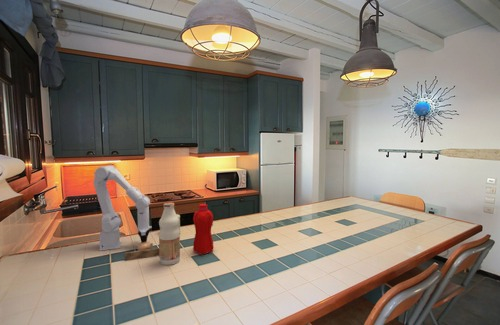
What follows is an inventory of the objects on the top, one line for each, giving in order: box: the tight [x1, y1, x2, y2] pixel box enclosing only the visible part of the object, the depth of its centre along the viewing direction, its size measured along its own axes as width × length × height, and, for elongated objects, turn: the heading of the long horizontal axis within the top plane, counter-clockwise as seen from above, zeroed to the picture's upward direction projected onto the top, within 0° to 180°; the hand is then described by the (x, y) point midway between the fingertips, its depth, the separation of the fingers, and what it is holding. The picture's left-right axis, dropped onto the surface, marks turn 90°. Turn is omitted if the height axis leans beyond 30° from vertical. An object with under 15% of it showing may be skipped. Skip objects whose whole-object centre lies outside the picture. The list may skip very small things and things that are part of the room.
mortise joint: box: [124, 243, 159, 261], centre depth 129 cm, size 16×9×4 cm, turn 111°
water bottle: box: [192, 203, 214, 255], centre depth 133 cm, size 9×11×25 cm
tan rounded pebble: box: [137, 241, 151, 251], centre depth 135 cm, size 6×6×3 cm
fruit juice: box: [158, 202, 181, 266], centre depth 121 cm, size 9×9×28 cm
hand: (144, 243), depth 139 cm, fingers closed
